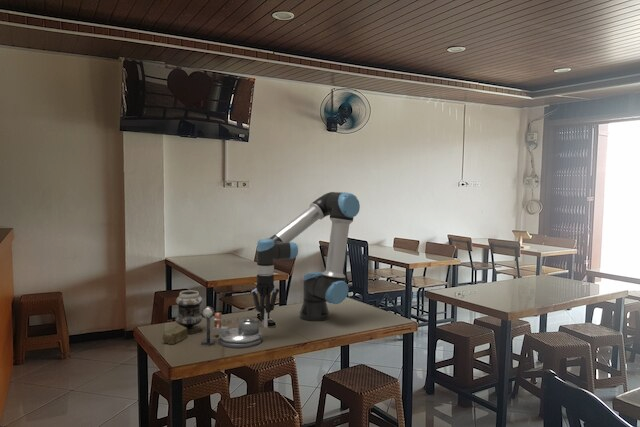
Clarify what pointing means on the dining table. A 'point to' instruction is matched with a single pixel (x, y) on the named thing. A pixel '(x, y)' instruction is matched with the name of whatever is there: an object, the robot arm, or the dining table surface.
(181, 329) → the stone block
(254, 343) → the turntable base
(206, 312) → the dial gauge stand
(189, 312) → the apothecary jar
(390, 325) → the dining table surface
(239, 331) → the cover
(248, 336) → the turntable
